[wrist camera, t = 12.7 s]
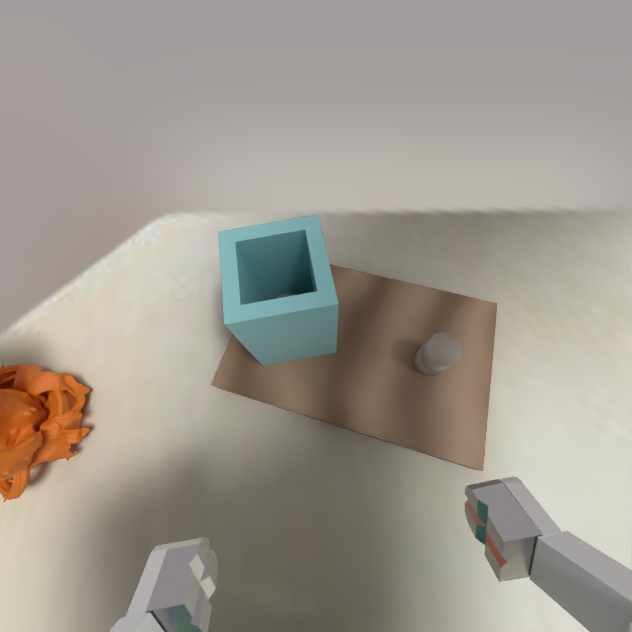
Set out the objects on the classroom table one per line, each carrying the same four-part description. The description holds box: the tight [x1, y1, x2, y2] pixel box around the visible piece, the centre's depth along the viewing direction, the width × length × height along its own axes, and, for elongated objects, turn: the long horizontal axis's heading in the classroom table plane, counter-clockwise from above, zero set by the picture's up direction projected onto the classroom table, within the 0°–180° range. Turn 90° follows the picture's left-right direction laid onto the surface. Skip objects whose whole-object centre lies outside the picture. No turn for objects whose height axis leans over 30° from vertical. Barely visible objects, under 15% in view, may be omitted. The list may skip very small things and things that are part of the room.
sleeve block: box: [219, 214, 338, 366], centre depth 22 cm, size 6×6×10 cm
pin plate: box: [212, 265, 497, 471], centre depth 25 cm, size 22×14×6 cm, turn 73°
